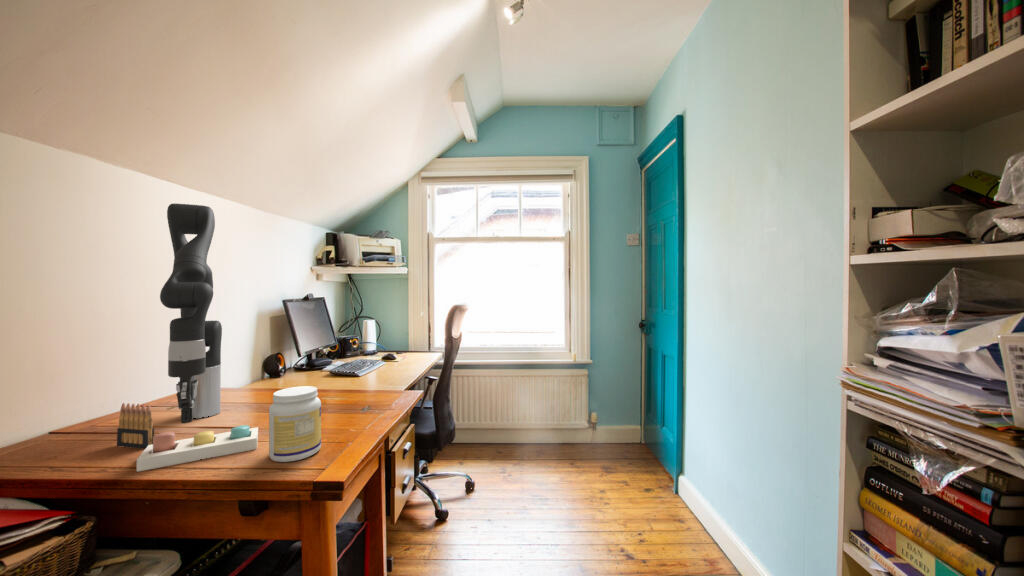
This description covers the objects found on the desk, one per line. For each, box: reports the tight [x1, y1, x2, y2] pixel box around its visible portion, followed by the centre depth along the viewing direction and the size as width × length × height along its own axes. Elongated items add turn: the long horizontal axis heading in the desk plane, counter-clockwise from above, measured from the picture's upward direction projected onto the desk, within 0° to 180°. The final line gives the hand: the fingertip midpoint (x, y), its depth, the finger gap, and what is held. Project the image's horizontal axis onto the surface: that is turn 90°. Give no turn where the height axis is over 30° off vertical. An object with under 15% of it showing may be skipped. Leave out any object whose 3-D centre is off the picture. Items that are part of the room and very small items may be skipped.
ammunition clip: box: [116, 402, 155, 450], centre depth 105 cm, size 11×2×12 cm, turn 80°
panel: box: [136, 426, 259, 472], centre depth 101 cm, size 10×24×3 cm, turn 123°
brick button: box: [153, 431, 176, 453], centre depth 96 cm, size 4×4×4 cm
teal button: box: [230, 424, 250, 440], centre depth 105 cm, size 4×4×4 cm
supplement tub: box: [268, 385, 322, 463], centre depth 100 cm, size 12×12×17 cm
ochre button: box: [193, 430, 215, 446], centre depth 101 cm, size 4×4×4 cm
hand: (186, 422), depth 99 cm, fingers closed
